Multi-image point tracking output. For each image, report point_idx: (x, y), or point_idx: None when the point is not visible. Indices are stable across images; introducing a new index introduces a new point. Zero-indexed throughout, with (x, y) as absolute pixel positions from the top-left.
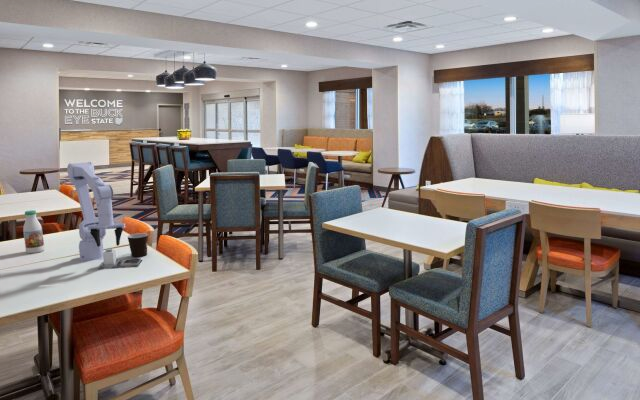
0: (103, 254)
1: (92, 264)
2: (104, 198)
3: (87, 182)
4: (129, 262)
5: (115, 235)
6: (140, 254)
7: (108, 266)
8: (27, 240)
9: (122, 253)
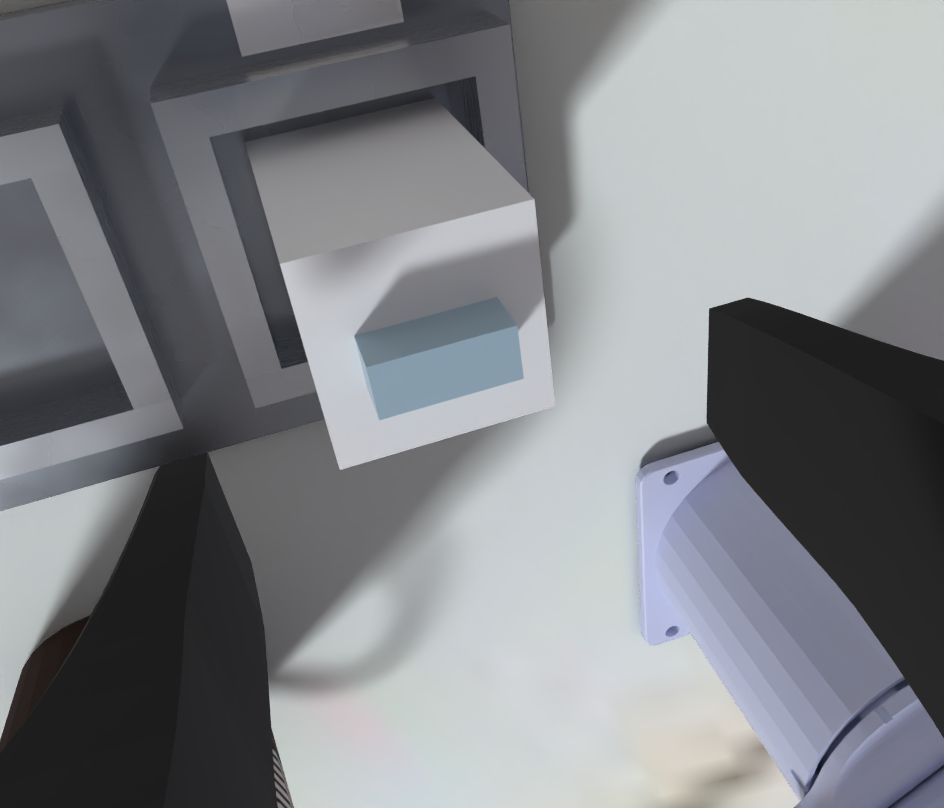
0: (510, 190)
1: (712, 293)
2: None
3: None
4: (64, 386)
5: (176, 708)
6: (46, 683)
7: (323, 55)
8: None
9: (477, 729)
